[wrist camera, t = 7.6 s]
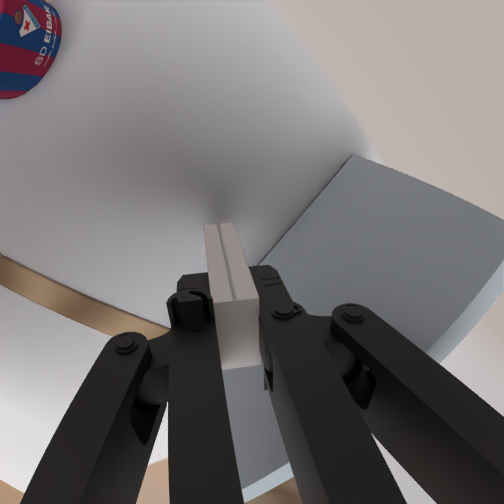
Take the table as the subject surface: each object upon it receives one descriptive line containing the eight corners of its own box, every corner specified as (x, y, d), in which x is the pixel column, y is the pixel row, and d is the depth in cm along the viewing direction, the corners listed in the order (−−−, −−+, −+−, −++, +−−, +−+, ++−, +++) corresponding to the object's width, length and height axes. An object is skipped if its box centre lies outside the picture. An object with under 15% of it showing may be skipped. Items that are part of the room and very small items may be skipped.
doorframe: (-44, 257, 17) (-154, 384, 3) (-42, 230, 16) (-168, 353, 2) (252, 379, 25) (293, 550, 12) (266, 359, 25) (320, 538, 11)
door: (225, 351, 23) (253, 511, 12) (196, 336, 22) (208, 506, 11) (378, 181, 19) (535, 272, 8) (353, 154, 18) (523, 230, 7)
